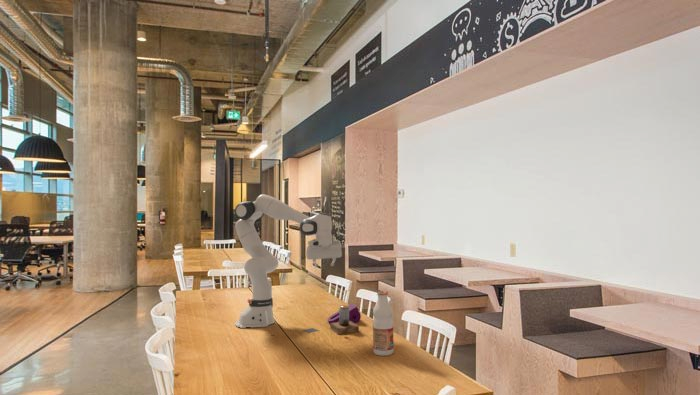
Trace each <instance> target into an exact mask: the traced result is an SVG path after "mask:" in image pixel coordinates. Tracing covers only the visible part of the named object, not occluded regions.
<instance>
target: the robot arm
mask: <svg viewBox="0 0 700 395" xmlns="http://www.w3.org/2000/svg"><path fill="white" fill-rule="evenodd" d="M234 214H235V216H236V217H237V218H238V220H237V221H236V223H235V224H234V225H235V226H234V227H235V231H236V235H237V238H238V239H239V241H240V245H241V247H242V249H243V251H244V252H245V253H247V255H249V256H250V257H251V258H250V259H248V260H246V261H245V263H244V272H245V273H246V275H247V276H249V280H250V282H251V287H252V288H251V289H252V291H251V292H252V298H251V299H250V298H248V299H247V300H246V301H247V303H248V306H247V307H246V308H245V309H243V310H242V311H241V313H240V314H239V317H238V320H236V321H235V322H234V324H235V327H236V326H237V327H236V328H238V327H240V328H239V329H246V327H251V328H265V327H269V326H271V325H273V324H274V323H275V317H274V311H273V307H274V300H273V297H272V296H273V291H272V290H273V289H272V288H273V287H272V286H273V285H272V283H271V282H270V280H269V278H268V274H271V273H272V272H274V271H275V270H276V269H277V268H278V267H279V260H278V257H276V256H275V255H274V254H272V253H271V252H270V251H269V250H268V249H267V248H266V246H265V244H264V243H263V242H262V240H261V237H260V236H259V233H258V232H257V230H256V227H255V224H256V223H258V222H259V221H260V220H261V219H262V218H264V215H266V216H268V217H270V218H272V219H274V220H278V221H291V222H292V221H293V222H295V223H297V224H299V230H300V231H299V232H301V234H302V235H303V236H315V238H314V239H312V240H309V241H307V244H308V246H307V247H306V251H305V257H306V259H307V260H312V262H313V264H314V268H319V263H317V260H320V259H321V260H323V259H325V260H326V259H332V262H330V267H334V266H335V262H336V261H337V258H338V259H339V258H340V259H341V257H342V256H343V251H342V246H343V245H342V242H341V241H339V240H337V241H333V235H332V230H333V223H332V216H331V215H330V214H329V213H327V212H317V213H316V214H315V215H313V216H310V215H308V214H305V213H303V212H301V211H299V210H297V209H294V208H293V207H292V206H290V205H288V204H287V203H286V202H284V201H281V200H280V199H277V197H273V196H271V195H269V194H265V193H264V194H263V193H262V194H260V195H258V196H257V197H256V199H255V200H254V201H251V200H250V201H242V202H239V203H238V204H237V205H236V206H235V208H234Z"/></svg>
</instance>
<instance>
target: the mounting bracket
mask: <svg viewBox="0 0 700 395" xmlns="http://www.w3.org/2000/svg"><path fill="white" fill-rule="evenodd" d="M347 306H348V307H349V321H351V322H353V323H355V324H357V323H359V321H360V320H361V318H362V317H361V312H360V311H359V308H358V306H357V305H356V304H354V303H350V304H348V305H347ZM327 322H328V324H329V325H330V323H336V322H339V310H338V311H336V312H334V313H332V314H331V315H330V316H329V317H327Z"/></svg>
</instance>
